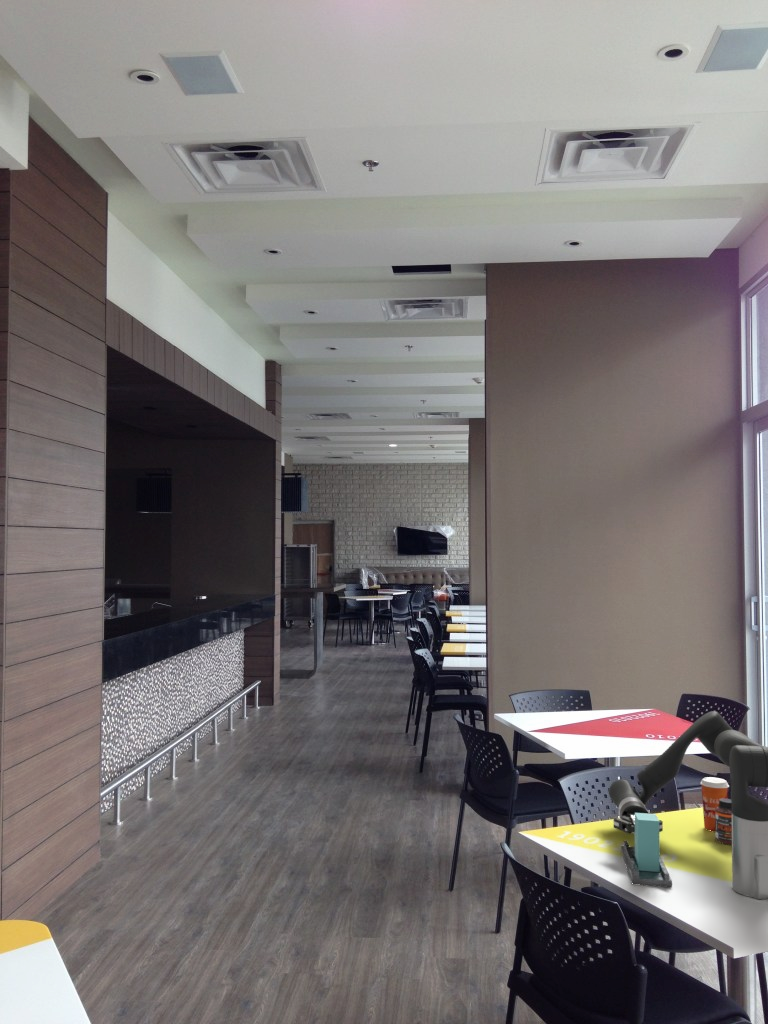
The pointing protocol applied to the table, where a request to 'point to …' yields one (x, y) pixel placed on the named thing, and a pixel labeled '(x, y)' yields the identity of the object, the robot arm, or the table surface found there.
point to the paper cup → (712, 798)
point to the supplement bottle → (723, 822)
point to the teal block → (647, 842)
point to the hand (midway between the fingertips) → (642, 835)
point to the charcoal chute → (644, 876)
